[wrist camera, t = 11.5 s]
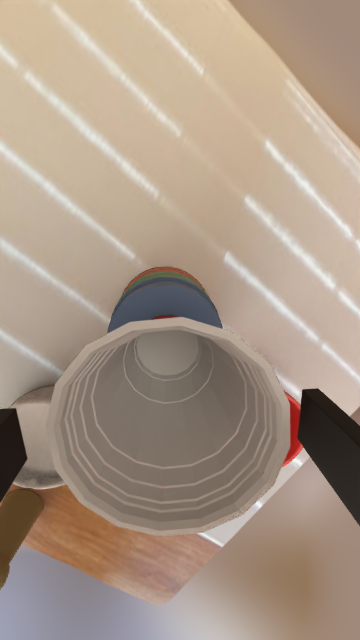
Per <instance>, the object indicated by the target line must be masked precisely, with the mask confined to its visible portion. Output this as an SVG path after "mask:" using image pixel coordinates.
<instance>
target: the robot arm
mask: <svg viewBox="0 0 360 640" xmlns="http://www.w3.org/2000/svg"><path fill="white" fill-rule="evenodd" d="M297 439H298V440H299V442H300V443H301V444H302V446H303V447H304V449H305V450H306V451H307V453H308V454H309V456H310V457H311V458H312V460H313V461H314V463H315V464H316V465H317V467H318V468H319V470H320V471H321V472H322V474H323V475H324V477H325V478H326V479H327V481H328V482H329V484H330V485H331V486H332V488H333V489H334V491H335V492H336V493H337V495H338V496H339V498H340V499H341V500H342V502H343V503H344V505H345V506H346V507H347V509H348V510H349V512H350V513H351V514H352V516H353V517H354V519H355V520H356V521H357V523H358V524H359V526H360V426H359V425H358V424H357V423H356V422H355V421H354V420H353V419H351V418H350V417H349V416H348V415H347V414H346V413H345V412H344V411H343V410H342V409H340V408H339V407H338V406H337V405H336V404H335V403H334V402H333V401H332V400H330V399H329V398H328V397H327V396H326V395H325V394H324V393H323V392H321V391H320V390H319V389H303V390H302V399H301V408H300V417H299V426H298V435H297ZM27 459H28V458H27V454H26V449H25V445H24V441H23V436H22V432H21V428H20V423H19V419H18V414H17V410H16V408H10V409H0V502H1V501H2V499H3V497H4V496H5V494H6V493H7V491H8V489H9V488H10V486H11V485H12V483H13V481H14V480H15V478H16V477H17V475H18V473H19V472H20V470H21V469H22V467H23V466H24V464H25V462H26V461H27Z"/></svg>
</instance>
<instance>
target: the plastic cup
mask: <svg viewBox="0 0 360 640" xmlns="http://www.w3.org/2000/svg"><path fill="white" fill-rule="evenodd" d="M45 428H46V432H47V437H48V441H49V445H50V450H51V454H52V459H53V463H54V468H55V470H56V471H57V472H58V474H59V475H60V477H61V478H62V479H63V481H64V482H65V483H66V485H67V486H68V487H69V489H70V490H71V492H72V493H73V494H74V496H75V497H76V498H77V500H78V501H79V502H80V503H81V504H82V505H84V506H85V507H87V508H88V509H90V510H92V511H93V512H95V513H96V514H98V515H99V516H101V517H103V518H104V519H106V520H107V521H109V522H111V523H112V524H114V525H115V526H117V527H121V528H126V529H130V530H134V531H138V532H143V533H147V534H151V535H156V536H169V535H180V534H191V533H202V532H205V531H207V530H210V529H212V528H214V527H216V526H219V525H221V524H223V523H225V522H228V521H230V520H232V519H234V518H237V517H239V516H241V515H243V514H244V513H245V512H246V511H247V510H248V509H249V508H250V507H251V506H252V505H253V504H254V503H256V502H257V501H258V500H259V499H260V498H261V497H262V496H263V495H264V494H265V493H266V492H267V491H268V490H269V489H270V488H271V487H272V486H273V485H274V483H275V480H276V478H277V476H278V474H279V471H280V469H281V467H282V465H283V462H284V460H285V458H286V456H287V453H288V451H289V449H290V403H289V401H288V399H287V397H286V395H285V393H284V391H283V389H282V387H281V384H280V382H279V380H278V378H277V376H276V374H275V372H274V370H273V368H272V366H271V364H270V363H269V362H268V361H267V360H266V359H265V358H263V357H262V356H261V355H260V354H259V353H257V352H256V351H255V350H254V349H253V348H251V347H250V346H249V345H248V344H246V343H245V342H244V341H243V340H242V339H240V338H239V337H238V336H237V335H236V334H234V333H233V332H231V331H228V330H225V329H221V328H218V327H215V326H211V325H208V324H205V323H201V322H198V321H195V320H191V319H188V318H184V317H178V316H175V315H163V316H157V317H155V318H153V319H151V320H145V321H135V322H129V323H127V324H125V325H123V326H121V327H119V328H117V329H116V330H114V331H112V332H110V333H108V334H106V335H104V336H102V337H101V338H99V339H97V340H95V341H93V342H91V343H89V344H87V345H85V346H84V347H83V349H82V350H81V351H80V352H79V354H78V355H77V356H76V358H75V359H74V360H73V361H72V363H71V364H70V365H69V366H68V368H67V369H66V370H65V372H64V373H63V374H62V375H61V377H60V378H59V379H58V380H57V382H56V383H55V386H54V391H53V395H52V400H51V404H50V408H49V413H48V417H47V422H46V426H45Z"/></svg>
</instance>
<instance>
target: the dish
mask: <svg viewBox="0 0 360 640" xmlns="http://www.w3.org/2000/svg"><path fill="white" fill-rule="evenodd" d="M53 391H54V386H47V387H42V388H39V389H36V390H33V391H31V392H29V393H27V394H25V395H23V396H22V397H20V398H19V399H18V400H16V401H15V402H14V403H13V405H12V406H11V407H10V408H16V410H17V414H18V419H19V423H20V428H21V432H22V436H23V441H24V445H25V449H26V454H27V458H28V459H27V461H26V462H25V464H24V466H23V467H22V469H21V470H20V472H19V473H18V475H17V477H16V478H15V480H14V481H13V484H15V485H17V486H20V487H23V488H28V487H30V488H33V489H49V488H54V487H58V486H61V485H65V484H66V483H65V482H64V481H63V479H62V478H61V477H60V475H59V474H58V472H57V471H56V470H55V468H54V463H53V459H52V454H51V450H50V445H49V441H48V437H47V432H46V428H45V426H46V422H47V417H48V413H49V408H50V404H51V400H52V395H53ZM10 408H9V409H10Z"/></svg>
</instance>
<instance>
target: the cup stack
mask: <svg viewBox="0 0 360 640" xmlns="http://www.w3.org/2000/svg"><path fill="white" fill-rule="evenodd" d="M163 315H175V316H178V317H184V318H188V319H191V320H195V321H198V322H201V323H205V324H208V325H211V326H215V327H218V328H221V329H223V327H222V324H221V321H220V319H219V316H218V313H217V310H216V308H215V306H214V304H213V303H212V301H211V300H210V298H209V296H208V295H207V293H206V292H205V290H204V288H203V287H202V285H201V284H200V283H199V282H198V281H197V280H196V279H195V278H194V277H193V276H191V275H190V274H188V273H187V272H185V271H182V270H180V269H177V268H172V267H157V268H152V269H149V270H147V271H144V272H143V273H141V274H139V275H138V276H137V277H135V278H134V279H133V280H132V281H131V282H130V283H129V285H128V286H127V287H126V289H125V291H124V292H123V295H122V296H121V298H120V300H119V302H118V304H117V305H116V307H115V309H114V312H113V314H112V317H111V321H110V324H109V328H108V332H107V334H108V333H110V332H112V331H114V330H116V329H117V328H119V327H121V326H123V325H125V324H127V323H129V322H135V321H145V320H151V319H153V318H155V317H157V316H163Z"/></svg>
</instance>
